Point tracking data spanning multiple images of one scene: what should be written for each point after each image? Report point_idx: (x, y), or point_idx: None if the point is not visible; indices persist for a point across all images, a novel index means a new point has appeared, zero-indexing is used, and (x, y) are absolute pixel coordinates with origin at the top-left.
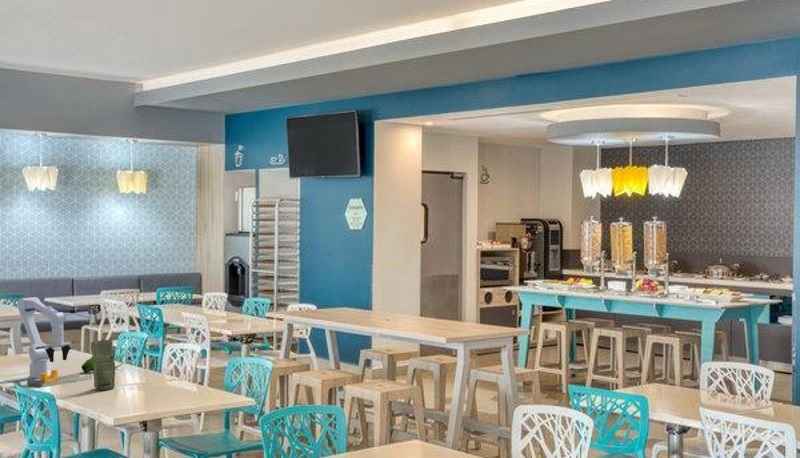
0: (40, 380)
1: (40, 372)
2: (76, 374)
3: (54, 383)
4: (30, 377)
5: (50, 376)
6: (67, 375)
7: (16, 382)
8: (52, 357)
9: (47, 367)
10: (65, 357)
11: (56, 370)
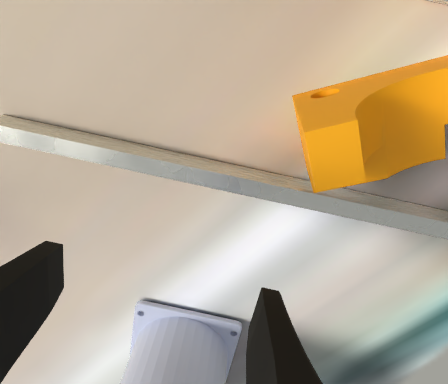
0: (397, 209)
1: (207, 358)
2: (18, 128)
3: None
4: (225, 381)
5: (376, 143)
6: (110, 155)
7: (393, 360)
8: (292, 344)
9: (127, 378)
10: (37, 266)
11: (336, 124)
